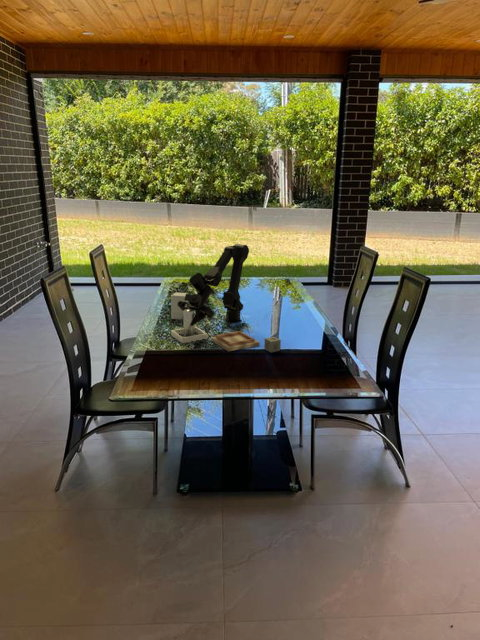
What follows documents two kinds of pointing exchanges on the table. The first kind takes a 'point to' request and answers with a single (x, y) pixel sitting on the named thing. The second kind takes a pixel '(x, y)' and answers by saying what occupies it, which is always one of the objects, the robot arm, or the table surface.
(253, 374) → the table surface
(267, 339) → the dice cube
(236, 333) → the tray
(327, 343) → the table surface
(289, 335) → the table surface
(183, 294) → the supplement box
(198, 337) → the frame
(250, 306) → the table surface
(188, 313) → the disc
